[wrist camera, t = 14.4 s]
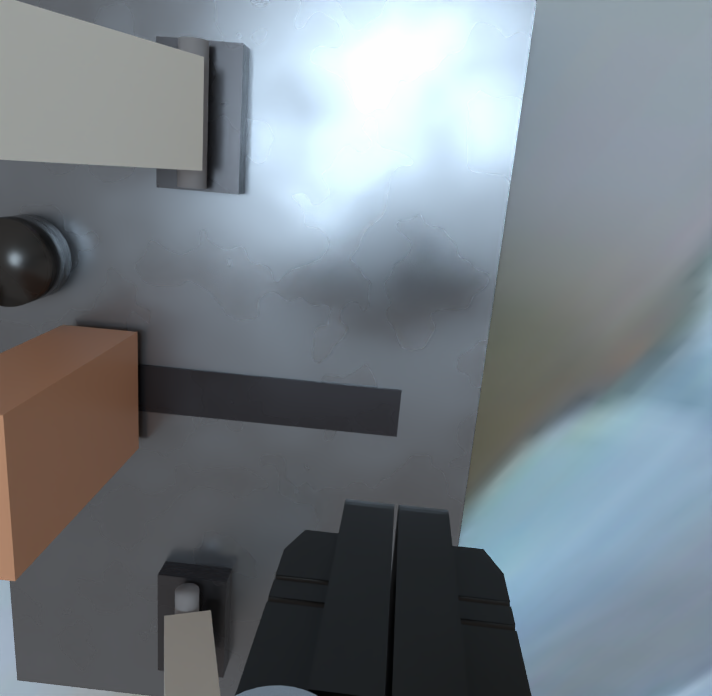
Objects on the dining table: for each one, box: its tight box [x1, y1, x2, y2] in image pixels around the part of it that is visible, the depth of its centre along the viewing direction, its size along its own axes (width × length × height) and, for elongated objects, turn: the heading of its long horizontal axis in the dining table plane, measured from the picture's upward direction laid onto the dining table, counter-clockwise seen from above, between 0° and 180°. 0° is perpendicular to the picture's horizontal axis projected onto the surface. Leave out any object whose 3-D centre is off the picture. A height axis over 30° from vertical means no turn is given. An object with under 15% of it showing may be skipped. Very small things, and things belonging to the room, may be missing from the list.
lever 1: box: [0, 0, 209, 189], centre depth 14 cm, size 2×4×8 cm, turn 175°
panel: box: [0, 0, 537, 696], centre depth 21 cm, size 16×25×4 cm, turn 175°
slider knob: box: [0, 325, 139, 581], centre depth 17 cm, size 2×4×7 cm, turn 175°
